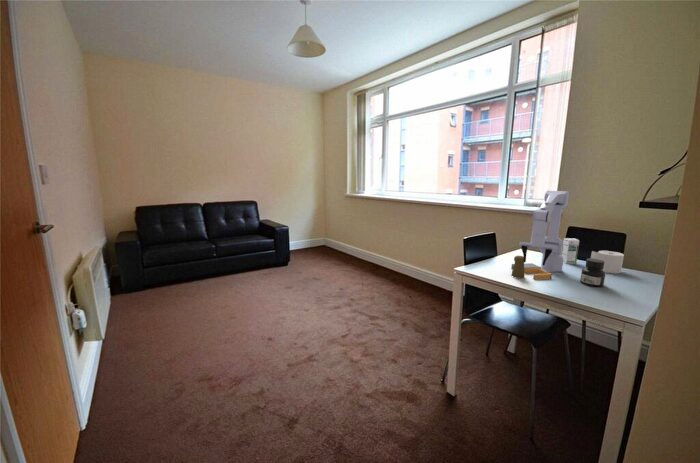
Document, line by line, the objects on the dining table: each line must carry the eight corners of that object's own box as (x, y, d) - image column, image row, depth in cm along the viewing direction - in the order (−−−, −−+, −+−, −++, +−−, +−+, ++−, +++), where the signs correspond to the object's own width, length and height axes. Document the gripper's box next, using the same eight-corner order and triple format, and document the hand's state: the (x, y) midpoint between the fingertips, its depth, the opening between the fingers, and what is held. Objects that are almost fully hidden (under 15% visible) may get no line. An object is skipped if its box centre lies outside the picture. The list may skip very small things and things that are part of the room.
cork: (523, 275, 156) (525, 255, 154) (525, 279, 151) (528, 258, 149) (510, 273, 158) (512, 254, 156) (512, 277, 153) (514, 257, 151)
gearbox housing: (531, 268, 167) (532, 261, 167) (553, 278, 151) (554, 271, 150) (511, 268, 166) (511, 262, 166) (531, 279, 150) (532, 271, 149)
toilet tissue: (626, 273, 159) (629, 255, 157) (603, 273, 159) (606, 255, 157) (609, 267, 169) (612, 250, 167) (588, 267, 169) (591, 250, 167)
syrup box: (565, 263, 176) (569, 239, 174) (560, 260, 182) (563, 237, 179) (576, 264, 175) (580, 240, 173) (570, 261, 181) (574, 237, 178)
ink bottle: (575, 282, 147) (578, 258, 144) (585, 279, 150) (589, 256, 148) (597, 289, 138) (601, 264, 136) (608, 286, 142) (612, 262, 139)
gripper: (520, 233, 141) (516, 261, 143) (557, 238, 133) (552, 267, 135) (521, 232, 147) (517, 259, 149) (556, 237, 139) (551, 265, 141)
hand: (533, 263), depth 142 cm, fingers open, 7 cm apart
